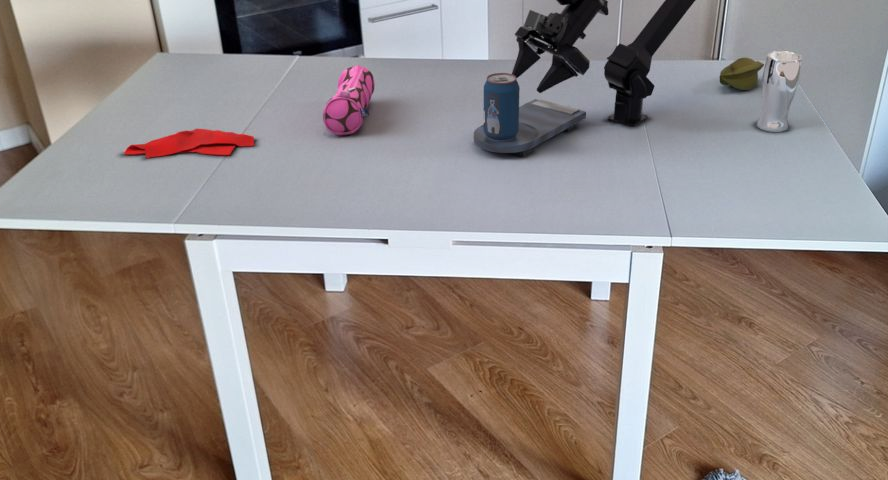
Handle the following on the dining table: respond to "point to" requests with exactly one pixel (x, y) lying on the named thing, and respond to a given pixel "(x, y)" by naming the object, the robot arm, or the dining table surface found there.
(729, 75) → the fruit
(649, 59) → the robot arm
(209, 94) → the dining table surface
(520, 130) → the grey kitchen scale
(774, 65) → the beer glass
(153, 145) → the cloth
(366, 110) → the pencil case
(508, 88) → the soda can
